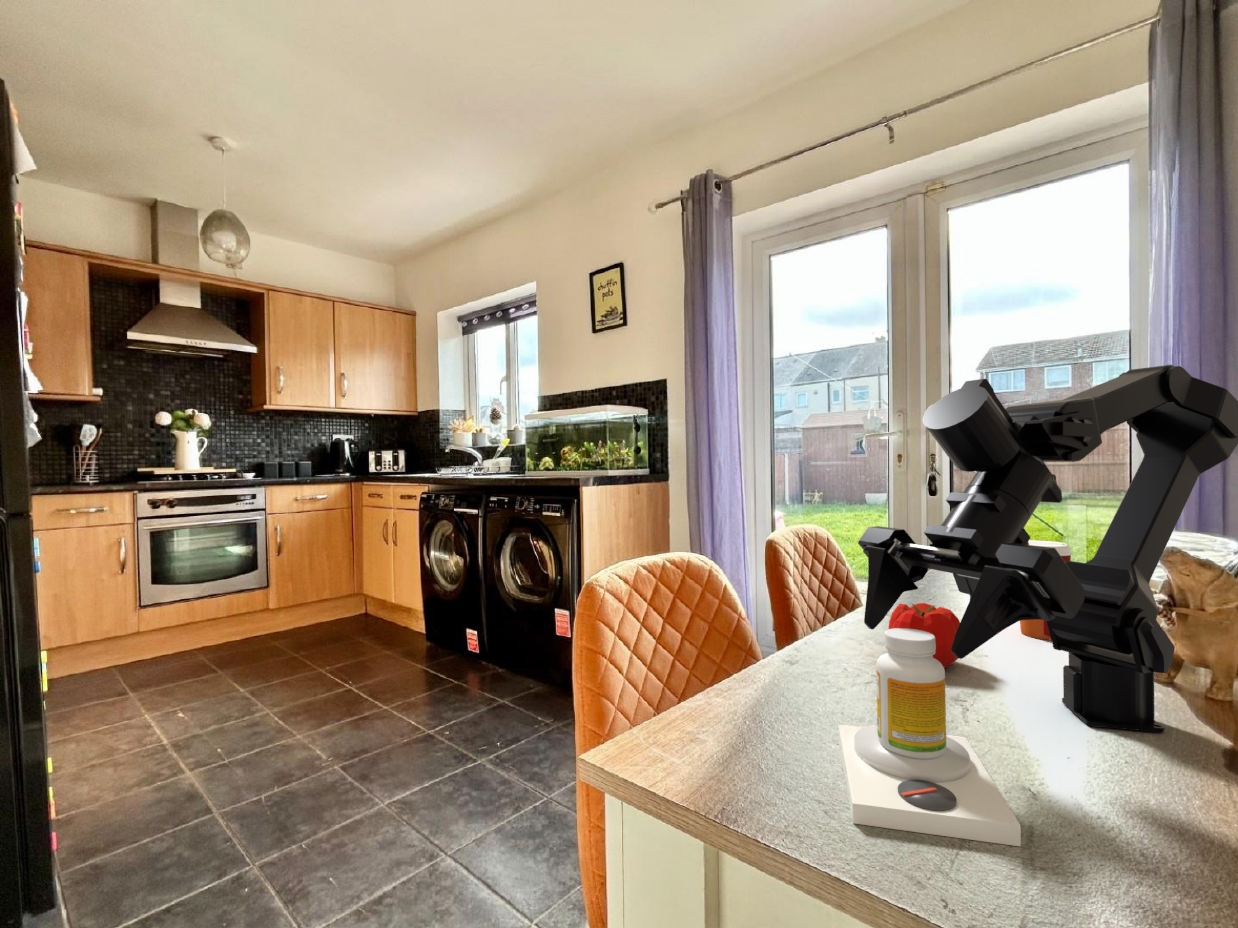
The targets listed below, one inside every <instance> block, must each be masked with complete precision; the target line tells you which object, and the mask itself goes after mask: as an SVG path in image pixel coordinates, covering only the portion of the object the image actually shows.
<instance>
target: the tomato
mask: <svg viewBox="0 0 1238 928" xmlns="http://www.w3.org/2000/svg"><path fill="white" fill-rule="evenodd" d="M910 604H911V605H912V606H909V605H908V604H906V603H899V604H898V605H897V606H896V607H895V608H894V610H893V611H892V613H891V614H890V618H889V620H888V629H894V628H908V629H916V630H921V631H925V632H928V633H931V634H933V635H934V636H935V644H936V650H935V654H934V655H933V658H935V659H936V660H938V661H939V662H940V663H941V664H942V665H943V667H944V668H949V667H950V666H951V665H952V664H953V663H954V662H956V661H957V660H958V659H959V658H957V657H955V655H954V654H953V653H952V652H951V647H952V644H953V641H954V637H955V634H956V631H957V629H958V627H959V624H960V622H961V620H960V619H959V618H958V616H957V615H956V614H955V613H954V612H953V611H952V610H951V609H949V608H945V607H943V606H938V607H936V605H934V604H932V605H931V604H929V603H926V602H917V603H915V604H914V603H912V602H910Z"/></svg>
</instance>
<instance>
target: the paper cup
mask: <svg viewBox="0 0 1238 928" xmlns="http://www.w3.org/2000/svg"><path fill="white" fill-rule="evenodd" d="M1028 543H1029V545H1034V546H1042V547H1050V548H1055V549H1056V550H1057V552H1058V553H1059V554H1060V556H1061V557H1062V559H1063V560H1064V561H1065V563H1066V562H1068V561H1072V560H1071V559H1072V557H1071V556H1073V555H1074V552H1073V551H1072V550H1071V547H1070V546H1069V544H1068V543H1065V542H1060V541H1050V540H1049V541H1048V540H1033V539H1032V540H1031V539H1029V541H1028ZM1019 625H1020V632H1021V634H1022V635H1023V636H1026V637H1029V638H1032V639H1037V638H1039V639H1038V640H1043V639H1046V640H1045V641H1052V640H1051V636H1050V633H1049V629H1048V625H1047V621H1046V620H1040V619H1035V620H1021V621H1019Z"/></svg>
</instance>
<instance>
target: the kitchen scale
mask: <svg viewBox="0 0 1238 928" xmlns="http://www.w3.org/2000/svg"><path fill="white" fill-rule="evenodd" d="M837 725H838V726H837V729H838V731H837V733H838V734H837V735H838V746H839V751H840V757H841V762H842V768H843V774H844V779H845V785H846V791H847V792H846V793H847V798H848V802H849V807H850V813H851V820H852V821H851V822H852V824H856V825H863V826H869V827H871V826H872V827H877V828H882V829H883V828H885V829H891V830H897V831H898V830H900V831H905V832H913V833H921V834H926V835H934V836H935V835H936V836H943V837H947V838H948V837H949V838H957V839H963V840H972V841H976V842H977V841H978V842H983V843H984V842H987V843H991V844H1000V845H1007V846H1015V847H1021V845H1022V844H1021V843H1022V841H1021V840H1022V839H1021V836H1022V834H1021V833H1022V832H1021V824H1020V822H1019V821H1018V819H1017V818H1016V816H1015V814H1014V813H1013V811H1012V809H1011V808H1010V806H1009V805H1008V802H1007V801H1006V800H1005V798H1004V797H1003V795H1002V794H1001V792H1000V791H999V788H998V787H997V786H996V784H995V783H994V781H993V779H992V778H991V776H990V774H989V773H988V770H986V768H985V767H984V765H983V763H982V762H981V760H980V758H979V757H978V756H977V754H976V752H975V750H974V749H973V747H972V746H971V745H970V743H969V741H968V739H967V738H966V737H965V736H958V735H949V734H946V751H945V753H944V754H943V755H941V756H939V757H936V758H931V759H917V758H911V757H906V756H903V755H899V754H897V753H894V752H892V751H890V750H888V749H886V748H885V747H884V746H882V745H881V743H880V742H879V740H878V732H877V723H876V724H872V725H868V726H858V725H857V726H856V725H847V724H837Z"/></svg>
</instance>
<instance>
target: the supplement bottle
mask: <svg viewBox="0 0 1238 928" xmlns="http://www.w3.org/2000/svg"><path fill="white" fill-rule="evenodd" d="M883 642H884V643H883V645H884V649H885V650H887V652H885V653H883V654H882V655H880V656H879V657H878V659H877V660H876V671H875V672H876V721H877V723H876V724H877V732H878V740H879V742H880V743H881V745H882V746H884V747H885V748H886V749H888V750H890V751H892V752H894V753H897V754H899V755H903V756H906V757H911V758H917V759H931V758H936V757H939V756H941V755H943V754H944V753H945V751H946V735H947V720H946V717H947V716H946V714H947V713H946V712H947V711H946V710H947V709H946V706H947V705H946V671H945V667H943V665H942V664H941V663H940V662H939V661H938V660H936V659H935V658H933V655H934V654H935V650H936V644H935V636H934V635H933V634H931V633H928V632H925V631H921V630H916V629H908V628H894V629H889V628H888V629H885V631H884V641H883Z"/></svg>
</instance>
